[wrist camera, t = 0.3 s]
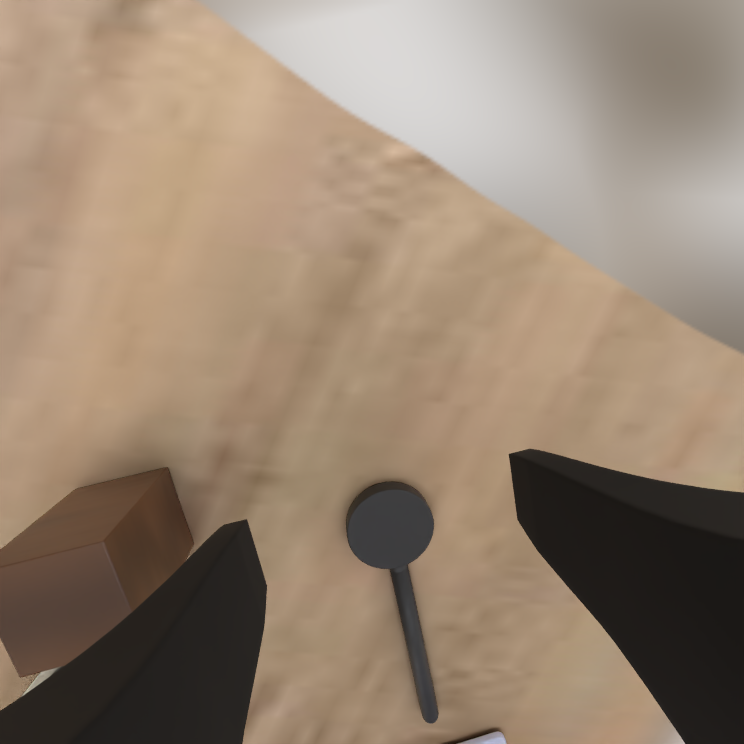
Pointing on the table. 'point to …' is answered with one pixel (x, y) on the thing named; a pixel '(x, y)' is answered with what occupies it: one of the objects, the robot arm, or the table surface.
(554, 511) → the robot arm
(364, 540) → the serving spoon
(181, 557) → the walnut block
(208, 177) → the table surface
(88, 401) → the table surface
